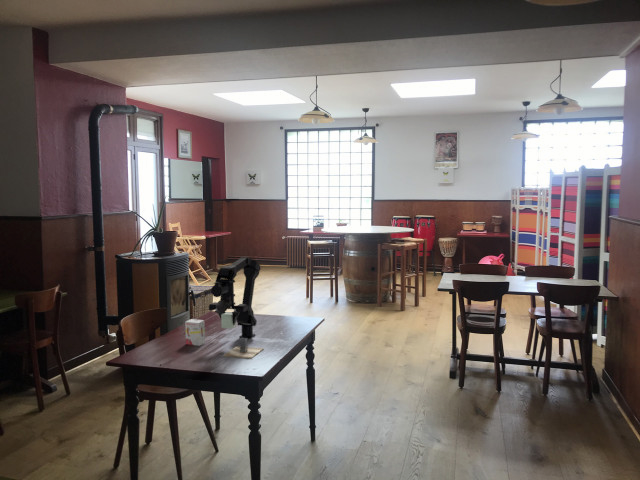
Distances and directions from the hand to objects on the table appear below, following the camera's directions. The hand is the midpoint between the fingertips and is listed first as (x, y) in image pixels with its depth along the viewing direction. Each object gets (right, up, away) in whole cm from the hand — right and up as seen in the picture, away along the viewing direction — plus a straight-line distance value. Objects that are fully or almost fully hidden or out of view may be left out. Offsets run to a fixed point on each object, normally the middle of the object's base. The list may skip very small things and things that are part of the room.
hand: (228, 324), depth 252 cm
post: (+9, -12, -9) cm, 17 cm away
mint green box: (0, -1, 0) cm, 1 cm away
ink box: (-18, -11, +7) cm, 22 cm away
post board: (+9, -12, -9) cm, 17 cm away
